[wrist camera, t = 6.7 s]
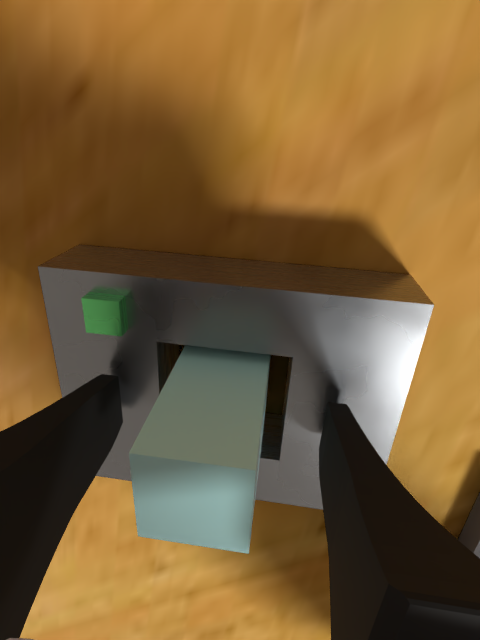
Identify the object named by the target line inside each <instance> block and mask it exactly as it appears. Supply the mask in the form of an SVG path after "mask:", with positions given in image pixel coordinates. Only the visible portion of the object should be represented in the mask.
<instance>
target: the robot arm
mask: <svg viewBox="0 0 480 640" xmlns="http://www.w3.org/2000/svg"><path fill="white" fill-rule="evenodd" d="M122 424H123V416H122V406H121V397H120V387H119V378H118V376H114V375H106V374H101V375H99V376H97V377H95V378H94V379H92V380H90V381H89V382H87V383H85V384H84V385H82V386H81V387H79V388H77V389H76V390H74V391H73V392H71V393H69V394H68V395H66V396H65V397H63V398H61V399H60V400H58V401H56V402H55V403H53V404H51V405H50V406H48V407H46V408H44V409H43V410H41V411H39V412H37V413H35V414H34V415H32V416H30V417H28V418H27V419H25V420H23V421H21V422H19V423H17V424H15V425H13V426H11V427H9V428H7V429H5V430H3V431H1V432H0V640H33V639H23V638H19V637H20V635H21V632H22V630H23V627H24V624H25V622H26V619H27V617H28V614H29V612H30V609H31V607H32V604H33V602H34V600H35V597H36V595H37V592H38V590H39V588H40V585H41V583H42V580H43V578H44V576H45V573H46V571H47V569H48V567H49V564H50V562H51V560H52V558H53V555H54V553H55V551H56V549H57V546H58V544H59V542H60V540H61V538H62V536H63V534H64V532H65V530H66V527H67V525H68V523H69V521H70V519H71V517H72V515H73V513H74V511H75V510H76V508H77V506H78V504H79V503H80V501H81V499H82V498H83V496H84V494H85V493H86V491H87V489H88V488H89V486H90V484H91V483H92V481H93V479H94V478H95V476H96V474H97V473H98V471H99V469H100V468H101V466H102V464H103V463H104V461H105V459H106V458H107V456H108V454H109V452H110V451H111V449H112V447H113V445H114V442H115V440H116V438H117V436H118V433H119V431H120V428H121V426H122ZM319 480H320V488H321V496H322V504H323V512H324V519H325V527H326V535H327V542H328V553H329V574H330V606H331V640H480V558H479V557H478V556H476V555H475V554H474V553H473V552H472V551H470V550H469V549H468V548H467V547H466V546H464V545H463V544H462V543H461V542H460V541H458V540H457V539H456V538H455V537H454V536H453V535H452V534H450V533H449V532H448V531H447V530H446V529H445V528H444V527H443V526H442V525H441V524H440V523H438V522H437V521H436V520H435V519H434V518H433V517H432V516H431V515H430V514H429V513H428V512H427V511H426V510H425V509H424V508H423V507H422V506H421V505H420V504H419V503H418V502H417V501H416V500H415V499H414V498H413V496H412V495H411V494H410V493H409V492H408V491H407V490H406V489H405V488H404V486H403V485H402V484H401V483H400V482H399V480H398V479H397V478H396V477H395V476H394V474H393V473H392V472H391V470H390V469H389V468H388V466H387V465H386V464H385V463H384V461H383V460H382V458H381V457H380V456H379V454H378V453H377V451H376V450H375V448H374V447H373V445H372V444H371V443H370V441H369V440H368V438H367V437H366V435H365V433H364V432H363V430H362V429H361V427H360V425H359V424H358V422H357V420H356V419H355V417H354V415H353V413H352V412H351V410H350V408H349V407H348V405H347V404H342V403H334V402H328V403H327V408H326V413H325V419H324V424H323V429H322V434H321V440H320V445H319Z"/></svg>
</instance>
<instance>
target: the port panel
mask: <svg viewBox="0 0 480 640" xmlns="http://www.w3.org/2000/svg"><path fill="white" fill-rule="evenodd" d="M38 270H39V276H40V281H41V286H42V292H43V297H44V302H45V308H46V313H47V318H48V324H49V329H50V334H51V340H52V345H53V350H54V356H55V361H56V366H57V372H58V377H59V382H60V388H61V393H62V398H63V397H65V396H66V395H68V394H69V393H71V392H73V391H74V390H76V389H77V388H79V387H81V386H82V385H84V384H85V383H87V382H89V381H90V380H92V379H94V378H95V377H97V376H99V375H101V374H106V375H114V376H118V378H119V387H120V397H121V406H122V416H123V424H122V426H121V428H120V431H119V433H118V436H117V438H116V440H115V442H114V445H113V447H112V449H111V451H110V452H109V454H108V456H107V458H106V459H105V461H104V463H103V464H102V466H101V468H100V469H99V471H98V473H97V474H96V476H101V477H108V478H115V479H121V480H128V481H132V478H131V469H130V460H129V452H130V450H131V448H132V446H133V444H134V442H135V440H136V438H137V436H138V434H139V433H140V431H141V429H142V427H143V425H144V423H145V421H146V419H147V417H148V415H149V413H150V412H151V410H152V408H153V406H154V404H155V402H156V400H157V398H158V396H159V394H160V392H161V390H162V389H163V387H164V385H165V383H166V381H167V379H168V377H169V375H170V373H171V371H172V369H173V368H174V366H175V364H176V362H177V360H178V358H179V344H180V345H189V346H198V347H207V348H216V349H225V350H233V351H242V352H251V353H260V354H269V355H278V356H286V357H289V364H288V372H287V380H286V388H285V396H284V404H283V412H282V415H279V414H271V413H265V418H264V427H263V436H262V444H261V453H260V462H259V470H258V479H257V487H256V496H255V500H262V501H269V502H275V503H282V504H289V505H295V506H302V507H309V508H316V509H322V510H323V504H322V496H321V488H320V480H319V445H320V440H321V434H322V429H323V424H324V419H325V413H326V408H327V403H328V402H334V403H342V404H347V405H348V407H349V408H350V410H351V412H352V413H353V415H354V417H355V419H356V420H357V422H358V424H359V425H360V427H361V429H362V430H363V432H364V433H365V435H366V437H367V438H368V440H369V441H370V443H371V444H372V445H373V447H374V448H375V450H376V451H377V453H378V454H379V456H380V457H381V458H382V460H383V461H384V463H385V464H387V461H388V457H389V454H390V451H391V447H392V444H393V441H394V437H395V434H396V431H397V427H398V424H399V420H400V417H401V414H402V410H403V407H404V404H405V400H406V397H407V394H408V390H409V387H410V384H411V380H412V377H413V374H414V370H415V367H416V364H417V360H418V357H419V353H420V350H421V347H422V343H423V340H424V337H425V333H426V330H427V327H428V323H429V320H430V317H431V313H432V310H433V307H434V304H433V303H432V302H431V300H430V299H429V298H428V296H427V295H426V294H425V293H424V291H423V290H422V289H421V287H420V286H419V285H418V284H417V282H416V281H415V280H414V278H413V277H412V276H411V275H409V274H398V273H387V272H376V271H365V270H354V269H343V268H332V267H321V266H310V265H298V264H287V263H276V262H265V261H254V260H243V259H232V258H221V257H210V256H199V255H188V254H177V253H166V252H154V251H143V250H132V249H121V248H110V247H99V246H88V245H78V246H76V247H74V248H72V249H70V250H68V251H66V252H64V253H62V254H60V255H59V256H57V257H55V258H53V259H51V260H49V261H47V262H45V263H43V264H42V265H40V266H38Z"/></svg>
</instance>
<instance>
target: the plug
mask: <svg viewBox="0 0 480 640" xmlns="http://www.w3.org/2000/svg"><path fill="white" fill-rule="evenodd" d="M270 360H271V355H269V354H260V353H251V352H242V351H233V350H225V349H216V348H207V347H198V346H189V345H185V346H184V348H183V350H182V352H181V354H180V356H179V358H178V360H177V362H176V364H175V366H174V368H173V369H172V371H171V373H170V375H169V377H168V379H167V381H166V383H165V385H164V387H163V389H162V390H161V392H160V394H159V396H158V398H157V400H156V402H155V404H154V406H153V408H152V410H151V412H150V413H149V415H148V417H147V419H146V421H145V423H144V425H143V427H142V429H141V431H140V433H139V434H138V436H137V438H136V440H135V442H134V444H133V446H132V448H131V450H130V452H129V460H130V469H131V478H132V487H133V496H134V505H135V514H136V523H137V532H138V536H140V537H146V538H152V539H159V540H165V541H171V542H178V543H184V544H190V545H197V546H203V547H209V548H216V549H222V550H228V551H235V552H241V553H247V554H249V548H250V539H251V531H252V522H253V513H254V505H255V496H256V487H257V479H258V470H259V462H260V453H261V444H262V436H263V427H264V418H265V410H266V401H267V392H268V381H269V371H270Z"/></svg>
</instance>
